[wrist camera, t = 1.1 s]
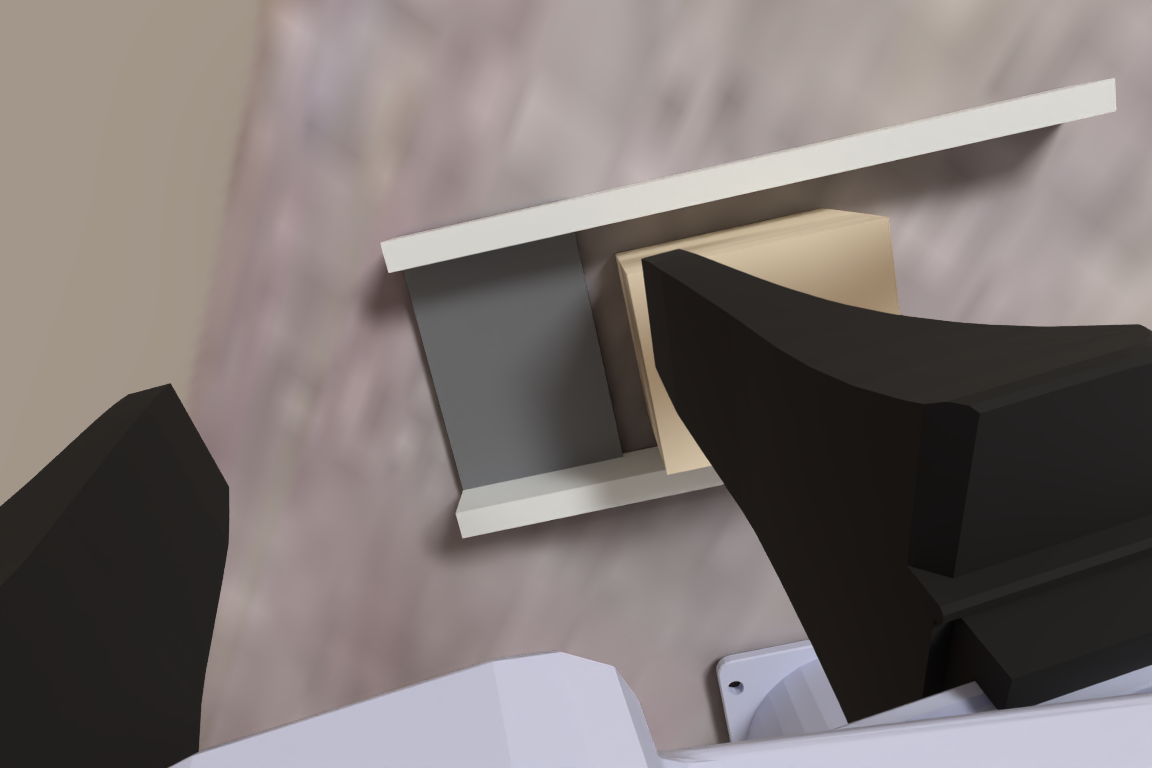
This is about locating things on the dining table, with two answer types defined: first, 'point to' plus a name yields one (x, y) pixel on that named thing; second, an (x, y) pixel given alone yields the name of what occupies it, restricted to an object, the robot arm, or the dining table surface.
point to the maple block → (776, 254)
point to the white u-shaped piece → (566, 326)
